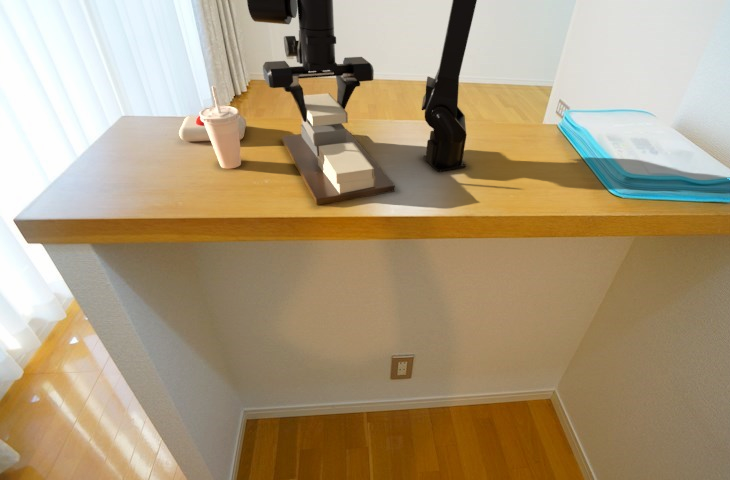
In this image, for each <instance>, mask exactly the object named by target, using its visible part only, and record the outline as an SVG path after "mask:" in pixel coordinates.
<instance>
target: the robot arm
mask: <svg viewBox="0 0 730 480" xmlns="http://www.w3.org/2000/svg"><path fill="white" fill-rule="evenodd" d="M477 2H478V0H452V1H451V7H450V11H449V16H448V22H447V27H446V31H445V37H444V42H443V46H442V50H441V58H440V61H439V66H438V69H437V72H436V74H435V76H434V78H433V77H431V76H427V77H426V82H425V83H426V84H425V94H424V95H423V96H422V102H421V111H424V121H425V122H426V123H427V125H428V126H429V127H430V128H431V129H432V130H430V134H429V139H428V140H427V143H426V151H425V154H424V155H423V159H424V160H425V161H426V162H427V163H428V164H429V165H430V166H431V167H432V168H433V169H434V170H436V172H445V171H452V170H456V169H463V168H466V167H467V163H466V162H465V161H463V160H464V159H463V158H464V153H465V147H466V141H467V135H468V134H467V127H466V116H465V114H464V113H463V111H462V110H461V109H460V108H459V106H458V102H459V86H460V84H459V83H460V74H461V70H462V66H463V61H464V57H465V52H466V49H467V44H468V40H469V37H470V36H469V35H470V31H471V27H472V24H473V18H474V14H475V10H476V6H477ZM246 3H247V9H248V12H249V15H250V18H251V20H252V21H254V22H256V23H265V24H266V23H268V24H279V25H280V24H281V25H290V24H291V22H292V19H296V17H298V29H299V30H298V40H297V38H296V36H295V35H284V36H283V46H284V53H285V56H286V57H287V58H290V57H291V58H293V57H295V58H296V63H299V64H300V65H301V66H299V65H298V66H290V65H289V64H288V62H287V61H286V60H273V61H265V62H264V63H263V65H262V72H263V79H264V81H265V82H266V84H267V85H268V87H269V88H271V89H279V88H281V89H283V90H284V92H286V93H290V94H291V96H292V98H293V100H294V103H295V104H296V106H297V109H298V111H299V113H300V116H301V119H302V118H303V121H304V122H307V117H306V108H305V101H304V95H305V94H304V88H303V87H302V86H301V84H300V83H299V81H300V80H299V79H312V78H326V77H327V78H328V77H335V79H336V85H337V86H336V87H337V91H336V101H337V102H338V103H339V104H340V105H341V107H342V108H343V109H344V110H345V111H346V107H347V104H348V102H349V100H350V98H351V96H352V94H353V93H354V91H355V89H356V88H357V87H360V86H361V82H372V81H374V71H375V70H374V67H373V65H372V64H371V63H370V62H369V61H368V60H367V59H366V58H364V57H362V56H349V57H344V58H343V60H342V62H343V63H337V62H336V48H335V46H336V45H337V37H336V36H335V20H334V19H335V18H334V0H246Z"/></svg>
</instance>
